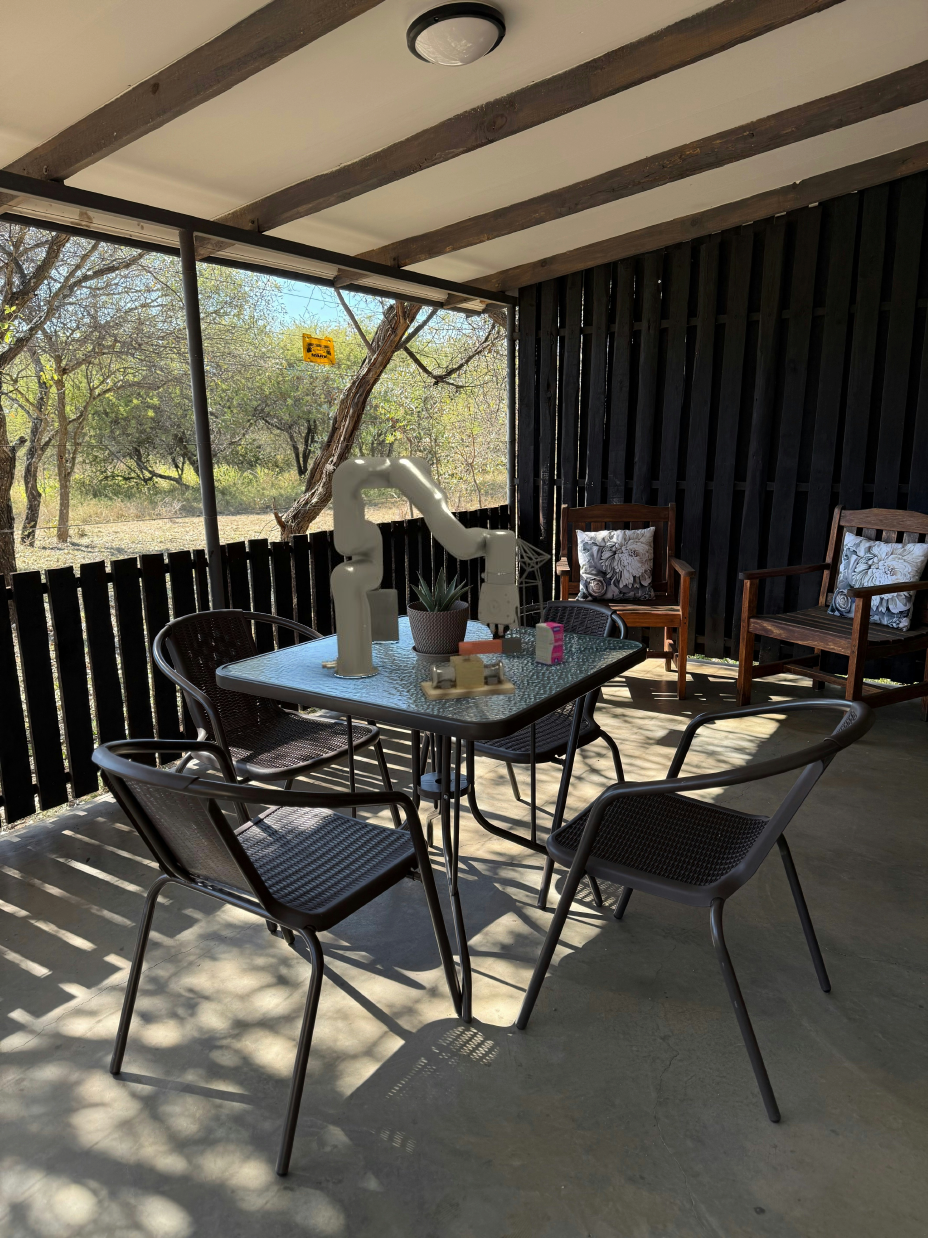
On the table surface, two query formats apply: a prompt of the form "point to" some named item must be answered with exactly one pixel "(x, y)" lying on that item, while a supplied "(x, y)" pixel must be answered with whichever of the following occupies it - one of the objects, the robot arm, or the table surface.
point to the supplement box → (549, 643)
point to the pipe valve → (467, 673)
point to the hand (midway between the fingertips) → (498, 648)
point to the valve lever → (491, 646)
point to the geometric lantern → (546, 557)
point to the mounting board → (466, 690)
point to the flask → (383, 614)
